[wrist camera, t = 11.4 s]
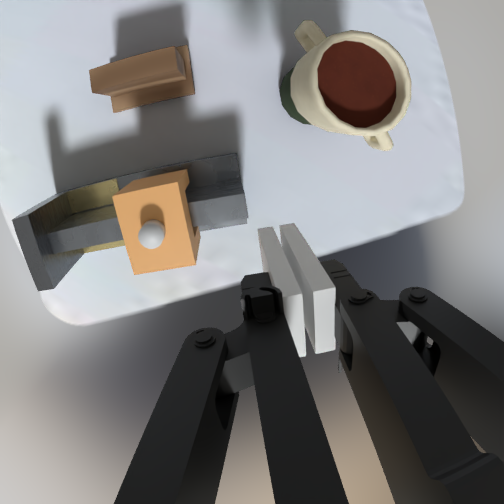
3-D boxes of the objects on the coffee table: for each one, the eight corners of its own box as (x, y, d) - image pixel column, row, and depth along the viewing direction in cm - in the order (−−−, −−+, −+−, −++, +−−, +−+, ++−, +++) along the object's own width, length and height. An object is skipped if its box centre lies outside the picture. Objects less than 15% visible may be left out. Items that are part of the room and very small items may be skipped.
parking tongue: (109, 67, 25) (81, 55, 19) (188, 47, 25) (178, 27, 19) (116, 112, 27) (89, 112, 21) (195, 94, 27) (187, 86, 21)
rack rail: (56, 193, 30) (12, 219, 21) (236, 153, 30) (241, 165, 22) (73, 252, 32) (38, 291, 24) (246, 220, 33) (255, 256, 25)
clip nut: (133, 180, 27) (106, 200, 20) (187, 169, 27) (175, 185, 20) (149, 245, 29) (130, 282, 23) (200, 236, 29) (194, 272, 23)
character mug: (365, 121, 30) (441, 129, 18) (312, 157, 31) (366, 183, 19) (306, 34, 26) (356, -10, 14) (247, 70, 27) (265, 36, 15)
